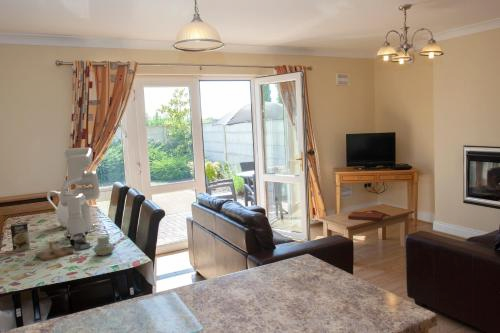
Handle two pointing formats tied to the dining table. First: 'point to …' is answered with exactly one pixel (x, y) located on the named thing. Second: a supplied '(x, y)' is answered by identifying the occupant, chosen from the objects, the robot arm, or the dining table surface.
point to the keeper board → (47, 253)
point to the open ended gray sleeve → (80, 243)
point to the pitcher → (60, 208)
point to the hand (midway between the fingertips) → (78, 243)
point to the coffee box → (20, 236)
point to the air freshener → (103, 246)
